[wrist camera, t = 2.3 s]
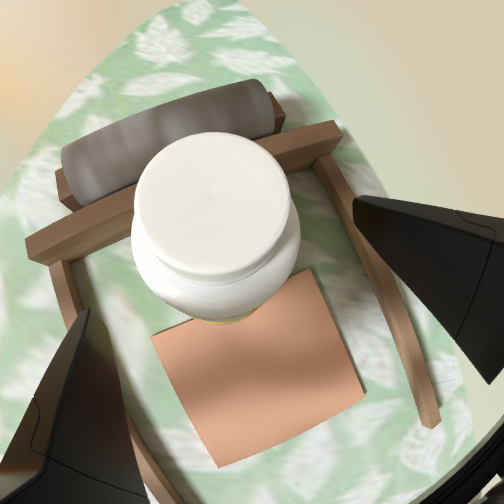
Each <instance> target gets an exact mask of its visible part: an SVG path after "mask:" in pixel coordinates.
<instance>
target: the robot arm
mask: <svg viewBox="0 0 504 504" xmlns="http://www.w3.org/2000/svg"><path fill="white" fill-rule="evenodd" d="M352 213H353V223H354V225H355V227H356V228H357V229H358V230H359V231H360V233H361V234H362V235H363V236H364V238H365V239H366V240H367V241H368V243H369V244H370V245H371V246H372V248H373V249H374V250H375V251H376V253H377V254H378V255H379V256H380V257H381V258H382V259H383V260H384V262H385V263H386V264H387V265H388V266H389V267H390V268H391V269H392V270H393V271H394V272H395V273H396V274H397V275H398V276H399V277H400V278H401V280H402V281H403V282H404V283H405V284H406V285H407V286H408V287H409V288H410V289H411V291H412V292H413V293H414V294H415V295H416V296H417V297H418V298H419V299H420V301H421V302H422V303H423V304H424V305H425V306H426V307H427V309H428V310H429V311H430V312H431V313H432V314H433V316H434V317H435V318H436V319H437V320H438V321H439V323H440V324H441V325H442V326H443V327H444V329H445V330H446V331H447V332H448V333H449V335H450V336H451V337H452V338H453V340H455V342H456V343H457V345H458V346H459V347H460V348H461V350H462V351H463V352H464V353H465V355H466V356H467V357H468V359H469V360H470V361H471V363H472V364H473V365H474V367H475V368H476V369H477V371H478V372H479V373H480V375H481V376H482V377H483V379H484V380H485V381H486V383H487V384H489V385H490V384H491V382H492V381H493V380H494V379H495V378H496V377H497V376H498V374H499V373H500V372H501V371H502V370H503V368H504V218H498V217H491V216H485V215H479V214H474V213H468V212H464V211H458V210H455V211H454V210H453V209H448V208H443V207H437V206H432V205H426V204H420V203H414V202H408V201H402V200H395V199H389V198H382V197H375V196H367V195H361V196H359V197H356V198H354V199H353V201H352ZM496 474H498V475H499V476H500V478H501V479H502V481H500V482H499V483H497V484H496V485H495V486H494V487H492V488H491V489H490V490H489V491H488V492H487V493H486V494H485V495H484V496H483V498H482V499H479V500H476V501H475V502H474V503H473V504H504V415H503V416H502V417H501V419H500V420H499V421H498V422H497V423H496V425H495V426H494V427H493V428H492V429H491V430H490V431H489V432H488V434H487V435H486V436H485V437H484V438H483V439H482V440H481V441H480V442H479V443H478V444H477V445H476V446H475V447H474V448H473V449H472V450H471V451H470V452H469V453H468V454H467V455H466V456H465V457H464V458H463V459H462V460H461V461H460V462H459V463H458V464H457V465H456V466H455V467H454V468H452V469H451V470H450V471H449V472H448V473H447V474H446V475H445V476H443V477H442V478H441V479H440V480H439V481H437V482H436V483H435V484H434V485H433V486H431V487H430V488H429V489H428V490H426V491H425V492H424V493H422V494H421V495H420V496H418V497H417V498H416V499H414V500H413V501H412V502H410V503H409V504H467V503H469V502H470V501H471V500H472V499H473V498H474V497H475V496H476V495H477V494H478V493H479V492H480V491H481V490H482V489H483V488H484V487H485V486H486V485H487V484H488V483H489V481H490V480H491V479H492V478H493V477H494V476H495V475H496ZM147 497H148V496H147V493H146V490H145V486H144V483H143V480H142V477H141V473H140V470H139V466H138V463H137V459H136V456H135V452H134V448H133V444H132V440H131V436H130V431H129V427H128V423H127V418H126V413H125V408H124V403H123V398H122V392H121V386H120V380H119V375H118V370H117V366H116V362H115V358H114V354H113V350H112V346H111V342H110V338H109V333H108V330H107V327H106V326H105V324H104V323H103V321H102V320H101V319H100V317H99V316H98V315H97V313H96V312H95V311H94V310H93V309H92V308H88V309H85V310H83V311H81V312H80V313H79V314H78V316H77V318H76V319H75V321H74V322H73V324H72V326H71V327H70V329H69V331H68V333H67V334H66V336H65V338H64V339H63V341H62V343H61V345H60V346H59V348H58V350H57V352H56V354H55V355H54V357H53V359H52V361H51V363H50V364H49V366H48V368H47V370H46V372H45V374H44V376H43V378H42V380H41V382H40V384H39V386H38V388H37V390H36V392H35V394H34V397H33V398H32V400H31V402H30V404H29V406H28V408H27V410H26V412H25V415H24V417H23V419H22V421H21V423H20V425H19V427H18V429H17V431H16V433H15V435H14V437H13V439H12V441H11V442H10V445H9V447H8V449H7V451H6V453H5V455H4V457H3V459H2V461H1V463H0V504H150V501H149V498H147Z"/></svg>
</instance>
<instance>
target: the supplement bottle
mask: <svg viewBox="0 0 504 504" xmlns="http://www.w3.org/2000/svg"><path fill="white" fill-rule="evenodd" d="M134 213H135V214H134V217H133V222H132V230H131V244H132V251H133V256H134V259H135V263H136V265H137V268H138V270H139V272H140V274H141V276H142V278H143V279H144V281H145V282H146V284H147V285H148V286H149V287H150V289H151V290H152V291H153V292H154V293H155V294H156V295H157V296H158V297H159V298H161V299H162V300H163V301H164V302H166V303H167V304H169V305H170V306H172V307H173V308H175V309H177V310H179V311H181V312H183V313H185V314H187V315H188V316H190V317H192V318H195V319H196V320H199V321H201V322H204V323H208V324H213V325H227V324H232V323H236V322H239V321H241V320H243V319H245V318H247V317H248V316H250V315H251V314H253V313H254V312H255V311H256V310H257V309H258V308H260V307H261V306H262V305H263V304H264V303H265V302H266V301H267V300H268V299H270V298H271V297H272V296H273V295H274V294H275V293H276V292H277V291H278V290H279V289H280V288H281V287H282V285H283V284H284V283H285V281H286V280H287V278H288V277H289V275H290V274H291V272H292V269H293V267H294V265H295V262H296V259H297V256H298V252H299V247H300V238H301V232H300V222H299V217H298V213H297V209H296V207H295V205H294V202H293V200H292V198H291V195H290V188H289V184H288V181H287V178H286V176H285V174H284V172H283V170H282V168H281V166H280V165H279V163H278V162H277V161H276V159H275V158H274V157H273V156H272V155H271V154H270V153H269V152H268V151H267V150H265V149H264V148H263V147H261V146H260V145H258V144H257V143H255V142H253V141H251V140H249V139H247V138H244V137H242V136H238V135H235V134H230V133H222V132H206V133H199V134H195V135H190V136H187V137H185V138H182V139H180V140H177V141H175V142H173V143H172V144H170V145H168V146H167V147H165V148H164V149H163V150H161V151H160V152H159V153H158V154H157V155H156V156H155V157H154V158H153V159H152V160H151V161H150V162H149V164H148V165H147V166H146V168H145V169H144V171H143V173H142V175H141V177H140V179H139V181H138V184H137V188H136V192H135V199H134Z"/></svg>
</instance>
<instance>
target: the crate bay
mask: <svg viewBox="0 0 504 504" xmlns="http://www.w3.org/2000/svg"><path fill="white" fill-rule="evenodd" d="M285 117H286V114H285V113H284V111H283V110H282V108H281V107H280V105H279V104H278V102H277V100H276V99H275V97H274V96H273V94H272V93H271V92H268V93H267V91H266V89H265V87H264V86H263V85H262V83H261V82H260V81H258V80H257V79H250V80H245V81H241V82H237V83H232V84H228V85H224V86H221V87H217V88H213V89H210V90H206V91H202V92H199V93H196V94H192V95H189V96H186V97H183V98H180V99H176V100H173V101H170V102H167V103H165V104H162V105H159V106H156V107H153V108H151V109H148V110H145V111H142V112H140V113H137V114H135V115H132V116H130V117H127V118H125V119H122V120H120V121H118V122H115V123H113V124H111V125H108V126H106V127H104V128H102V129H99V130H97V131H95V132H93V133H91V134H89V135H86V136H84V137H82V138H80V139H78V140H76V141H74V142H72V143H70V144H68V145H66V146H65V147H63V148H62V150H61V162H62V168H60V169H58V170H57V171H55V175H56V182H57V189H58V195H59V201H60V202H61V203H63V204H64V205H65V206H66V207H67V208H69V209H70V210H71V211H72V212H73V213H72V214H70V215H68V216H66V217H64V218H62V219H60V220H58V221H56V222H54V223H52V224H51V225H49V226H47V227H45V228H43V229H41V230H40V231H38V232H36V233H34V234H32V235H31V236H29V237H27V238H25V243H26V249H27V254H28V259H30V260H33V261H35V262H38V263H41V264H43V265H46V266H48V267H49V271H50V275H51V279H52V282H53V286H54V290H55V293H56V297H57V300H58V304H59V307H60V310H61V313H62V317H63V320H64V323H65V326H66V328H67V331H69V329H70V327H71V326H72V324H73V322H74V321H75V319H76V318H77V316H78V314H79V313H80V312H81V311H83V307H82V304H81V301H80V298H79V295H78V291H77V288H76V285H75V281H74V278H73V275H72V271H71V267H70V263H72V262H74V261H76V260H78V259H80V258H83V257H85V256H87V255H89V254H91V253H93V252H95V251H98V250H100V249H102V248H104V247H106V246H108V245H111V244H113V243H115V242H117V241H120V240H122V239H124V238H126V237H129V236H131V230H132V222H133V217H134V214H135V213H134V199H135V192H136V188H137V184H138V181H139V179H140V177H141V175H142V173H143V171H144V169H145V168H146V166H147V165H148V164H149V162H150V161H151V160H152V159H153V158H154V157H155V156H156V155H157V154H158V153H159V152H160V151H161V150H163V149H164V148H165V147H167V146H168V145H170V144H172V143H173V142H175V141H177V140H180V139H182V138H185V137H187V136H190V135H195V134H199V133H206V132H222V133H230V134H235V135H238V136H242V137H244V138H247V139H249V140H251V141H253V142H255V143H257V144H258V145H260V146H261V147H263V148H264V149H265V150H267V151H268V152H269V153H270V154H271V155H272V156H273V157H274V158H275V159H276V161H277V162H278V163H279V165H280V166H281V168H282V170H283V172H284V174H285V175H288V174H291V173H294V172H297V171H300V170H303V169H306V168H309V167H312V166H313V168H314V170H315V171H316V173H317V175H318V177H319V179H320V181H321V182H322V184H323V186H324V188H325V190H326V192H327V194H328V195H329V197H330V199H331V201H332V203H333V205H334V207H335V209H336V211H337V213H338V215H339V217H340V219H341V221H342V223H343V225H344V227H345V229H346V231H347V233H348V235H349V237H350V239H351V241H352V243H353V245H354V247H355V249H356V252H357V254H358V256H359V258H360V260H361V262H362V265H363V267H364V269H365V271H366V273H367V276H368V278H369V280H370V282H371V285H372V287H373V289H374V292H375V294H376V296H377V299H378V301H379V303H380V306H381V308H382V311H383V313H384V316H385V318H386V321H387V323H388V326H389V328H390V331H391V333H392V336H393V339H394V341H395V344H396V347H397V349H398V352H399V355H400V358H401V360H402V363H403V366H404V369H405V372H406V375H407V378H408V381H409V384H410V387H411V390H412V393H413V396H414V399H415V402H416V406H417V409H418V412H419V416H420V419H421V422H422V426H425V427H427V428H430V429H433V428H434V427H435V426H436V425H438V424H439V423H440V422H441V417H440V413H439V409H438V405H437V401H436V398H435V394H434V390H433V387H432V383H431V380H430V377H429V373H428V370H427V367H426V364H425V361H424V358H423V355H422V352H421V349H420V346H419V343H418V340H417V337H416V334H415V331H414V329H413V326H412V323H411V321H410V318H409V315H408V313H407V310H406V307H405V305H404V302H403V300H402V297H401V295H400V292H399V290H398V288H397V285H396V283H395V280H394V278H393V276H392V273H391V271H390V269H389V267H388V265H387V264H386V263H385V262H384V260H383V259H382V258H381V257H380V256H379V255H378V254H377V253H376V251H375V250H374V249H373V248H372V246H371V245H370V244H369V243H368V241H367V240H366V239H365V238H364V236H363V235H362V234H361V233H360V231H359V230H358V229H357V228H356V227H355V225H354V223H353V213H352V201H353V199H354V198H355V197H354V195H353V193H352V191H351V189H350V187H349V185H348V184H347V182H346V180H345V178H344V176H343V175H342V173H341V171H340V169H339V168H338V166H337V164H336V162H335V161H334V159H333V157H332V156H331V153H332V151H333V150H334V148H335V147H336V145H337V144H338V142H339V141H340V140H341V138H342V137H343V134H342V132H341V131H340V129H339V128H338V126H337V125H336V123H335V122H334V120H330V121H326V122H321V123H317V124H313V125H309V126H305V127H301V128H297V129H294V130H290V131H286V132H283V133H280V131H281V128H282V126H283V123H284V120H285ZM150 338H151V340H152V343H153V345H154V347H155V350H156V352H157V354H158V356H159V358H160V361H161V363H162V365H163V367H164V369H165V371H166V373H167V376H168V378H169V380H170V382H171V384H172V386H173V388H174V390H175V392H176V394H177V396H178V398H179V400H180V402H181V404H182V406H183V407H184V409H185V411H186V413H187V415H188V417H189V419H190V420H191V422H192V424H193V426H194V428H195V429H196V431H197V433H198V435H199V436H200V438H201V440H202V442H203V443H204V445H205V447H206V448H207V450H208V452H209V453H210V455H211V457H212V458H213V460H214V462H215V463H216V465H217V466H218V468H220V467H223V466H226V465H229V464H231V463H234V462H237V461H239V460H242V459H244V458H247V457H249V456H252V455H254V454H257V453H259V452H262V451H264V450H266V449H269V448H271V447H273V446H275V445H278V444H280V443H282V442H284V441H286V440H288V439H290V438H293V437H295V436H297V435H299V434H301V433H303V432H305V431H307V430H309V429H310V428H312V427H314V426H316V425H318V424H320V423H322V422H324V421H325V420H327V419H329V418H331V417H333V416H334V415H336V414H338V413H340V412H341V411H343V410H345V409H346V408H348V407H350V406H351V405H353V404H355V403H356V402H358V401H360V400H361V399H363V398H364V397H365V395H364V392H363V390H362V387H361V385H360V382H359V380H358V378H357V375H356V373H355V370H354V368H353V365H352V363H351V361H350V358H349V356H348V353H347V351H346V349H345V346H344V344H343V342H342V339H341V337H340V335H339V332H338V330H337V328H336V325H335V323H334V321H333V319H332V316H331V314H330V312H329V309H328V307H327V305H326V303H325V300H324V298H323V296H322V294H321V292H320V289H319V287H318V285H317V283H316V281H315V278H314V276H313V274H312V272H311V270H310V268H309V269H306V270H304V271H302V272H300V273H298V274H296V275H293V276H291V277H289V278H287V280H286V281H285V283H284V284H283V285H282V287H281V288H280V289H279V290H278V291H277V292H276V293H275V294H274V295H273V296H272V297H271V298H270V299H268V300H267V301H266V302H265V303H264V304H263V305H262V306H261V307H260V308H258V309H257V310H256V311H255V312H254V313H253V314H251V315H250V316H248V317H247V318H245V319H243V320H241V321H239V322H236V323H232V324H227V325H213V324H208V323H204V322H201V321H199V320H196V319H193V320H191V321H188V322H186V323H184V324H181V325H179V326H176V327H174V328H171V329H169V330H167V331H164V332H162V333H159V334H157V335H154V336H152V337H150ZM124 408H125V407H124ZM125 413H126V418H127V423H128V427H129V431H130V436H131V440H132V444H133V448H134V452H135V456H136V459H137V463H138V466H139V470H140V473H141V477H142V480H143V482H144V483H145V484H146V486H147V487H148V489H149V490H150V491H151V493H152V494H153V495H154V497H155V498H156V500H157V501H158V502H159V503H160V504H185V503H184V502H183V501H182V499H181V498H180V496H179V495H178V494H177V492H176V491H175V490H174V488H173V487H172V485H171V484H170V482H169V481H168V480H167V478H166V477H165V475H164V474H163V472H162V471H161V469H160V468H159V466H158V465H157V463H156V461H155V460H154V458H153V457H152V455H151V453H150V452H149V450H148V449H147V447H146V445H145V444H144V442H143V440H142V438H141V437H140V435H139V433H138V431H137V430H136V428H135V426H134V424H133V422H132V421H131V419H130V417H129V415H128V413H127V411H126V409H125Z"/></svg>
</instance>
